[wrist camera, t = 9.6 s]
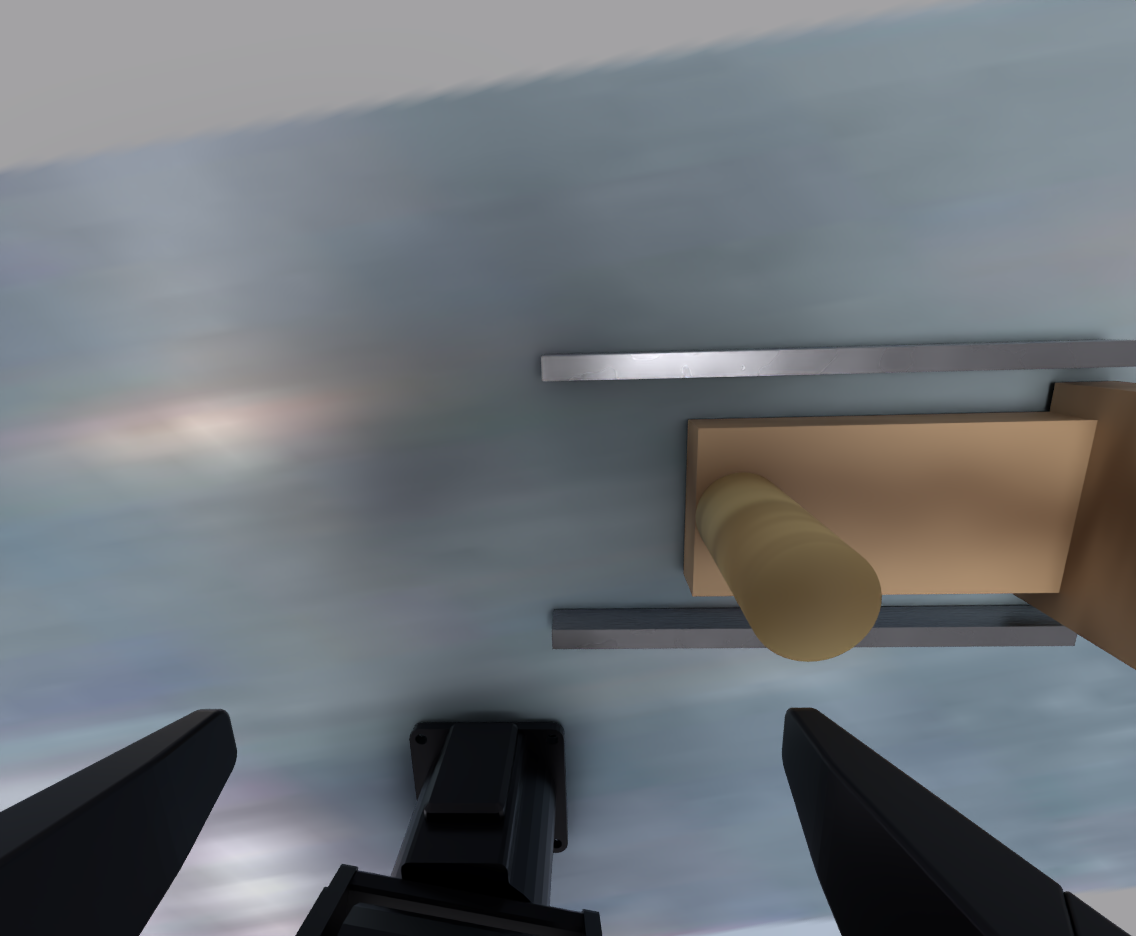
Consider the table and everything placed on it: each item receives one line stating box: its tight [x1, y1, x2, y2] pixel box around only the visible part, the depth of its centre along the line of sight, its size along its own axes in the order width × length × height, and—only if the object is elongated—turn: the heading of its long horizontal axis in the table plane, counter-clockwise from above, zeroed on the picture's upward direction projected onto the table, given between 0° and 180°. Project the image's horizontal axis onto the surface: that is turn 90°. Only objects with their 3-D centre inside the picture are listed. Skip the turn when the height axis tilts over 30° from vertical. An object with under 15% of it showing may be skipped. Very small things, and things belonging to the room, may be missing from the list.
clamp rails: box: [541, 339, 1136, 649], centre depth 19 cm, size 11×19×2 cm, turn 92°
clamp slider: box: [684, 381, 1136, 670], centre depth 16 cm, size 8×14×8 cm, turn 92°
